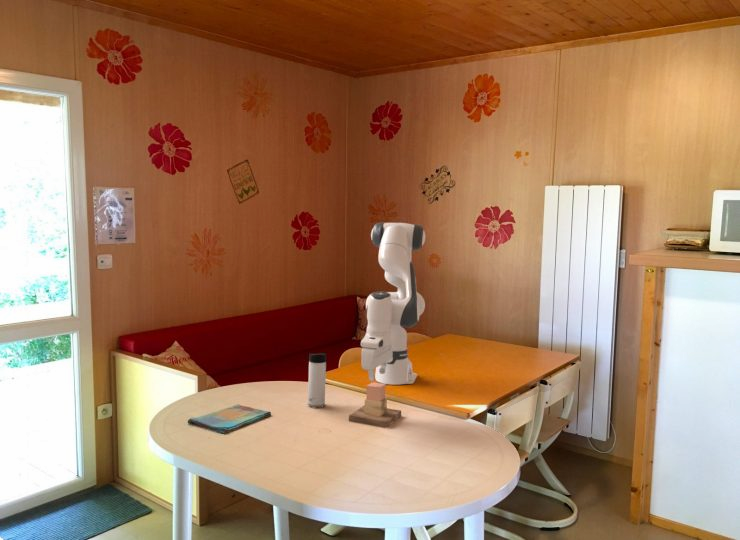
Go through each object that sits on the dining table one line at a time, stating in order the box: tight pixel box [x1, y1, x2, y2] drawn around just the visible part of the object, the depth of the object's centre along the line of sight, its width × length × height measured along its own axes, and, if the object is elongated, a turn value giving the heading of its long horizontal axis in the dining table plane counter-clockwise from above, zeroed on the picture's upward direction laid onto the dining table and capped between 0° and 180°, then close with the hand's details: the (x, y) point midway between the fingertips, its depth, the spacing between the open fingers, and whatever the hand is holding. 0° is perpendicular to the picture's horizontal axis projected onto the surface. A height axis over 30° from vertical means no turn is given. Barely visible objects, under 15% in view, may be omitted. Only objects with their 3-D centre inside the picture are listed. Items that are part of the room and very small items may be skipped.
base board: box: [348, 404, 402, 428], centre depth 208 cm, size 14×14×2 cm
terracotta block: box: [365, 381, 387, 402], centre depth 207 cm, size 5×5×5 cm
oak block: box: [364, 397, 388, 416], centre depth 208 cm, size 6×6×5 cm
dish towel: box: [187, 403, 272, 435], centre depth 202 cm, size 17×23×2 cm
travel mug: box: [307, 352, 327, 408], centre depth 220 cm, size 6×7×20 cm
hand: (377, 376), depth 210 cm, fingers open, 8 cm apart
